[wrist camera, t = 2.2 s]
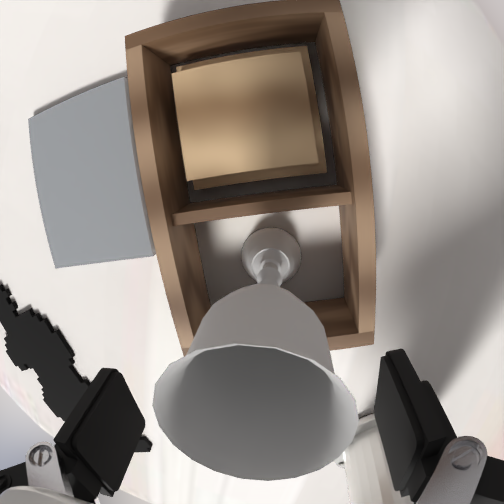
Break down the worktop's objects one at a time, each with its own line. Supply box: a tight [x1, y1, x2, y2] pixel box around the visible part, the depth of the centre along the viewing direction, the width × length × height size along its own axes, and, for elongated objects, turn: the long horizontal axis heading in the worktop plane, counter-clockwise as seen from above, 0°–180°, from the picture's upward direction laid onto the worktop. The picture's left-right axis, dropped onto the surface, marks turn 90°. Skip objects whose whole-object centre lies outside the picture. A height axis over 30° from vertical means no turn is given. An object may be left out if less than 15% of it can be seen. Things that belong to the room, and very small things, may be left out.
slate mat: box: [28, 77, 156, 268], centre depth 25 cm, size 16×12×1 cm
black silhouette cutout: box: [0, 284, 152, 452], centre depth 34 cm, size 16×1×30 cm
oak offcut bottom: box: [176, 46, 327, 190], centre depth 22 cm, size 10×10×2 cm
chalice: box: [153, 227, 359, 481], centre depth 18 cm, size 7×7×18 cm
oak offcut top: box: [172, 52, 318, 181], centre depth 20 cm, size 8×9×2 cm
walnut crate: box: [125, 0, 376, 356], centre depth 21 cm, size 24×14×6 cm, turn 8°
